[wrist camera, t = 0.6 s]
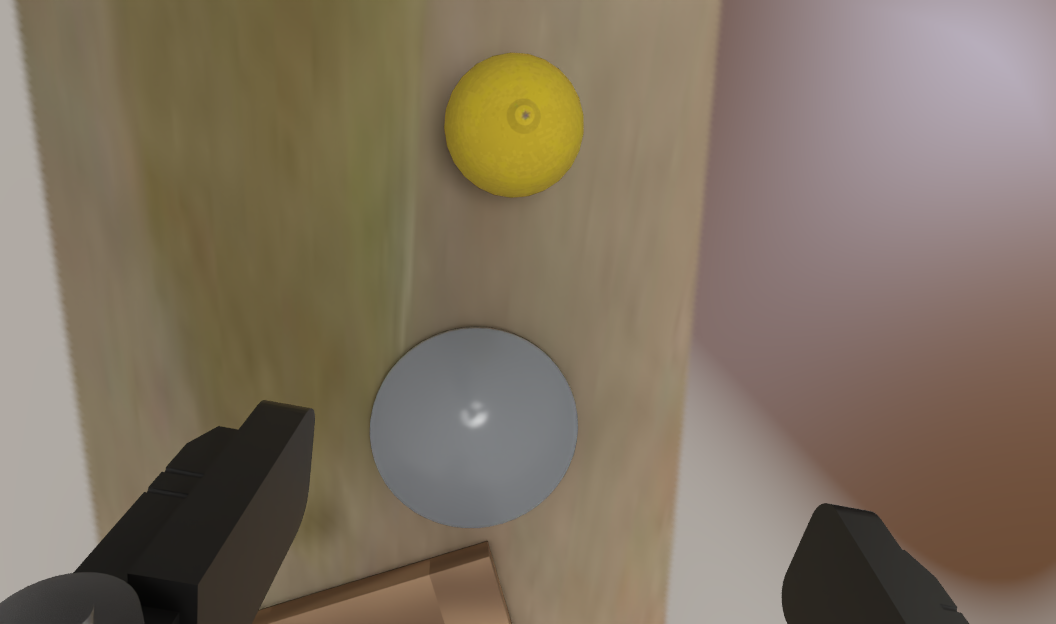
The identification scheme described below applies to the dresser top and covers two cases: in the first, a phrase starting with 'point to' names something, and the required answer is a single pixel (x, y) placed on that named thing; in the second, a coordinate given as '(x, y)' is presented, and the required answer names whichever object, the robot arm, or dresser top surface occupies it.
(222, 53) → the dresser top surface
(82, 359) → the dresser top surface
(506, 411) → the slate coaster
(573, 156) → the lemon
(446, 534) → the dresser top surface
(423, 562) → the walnut board
